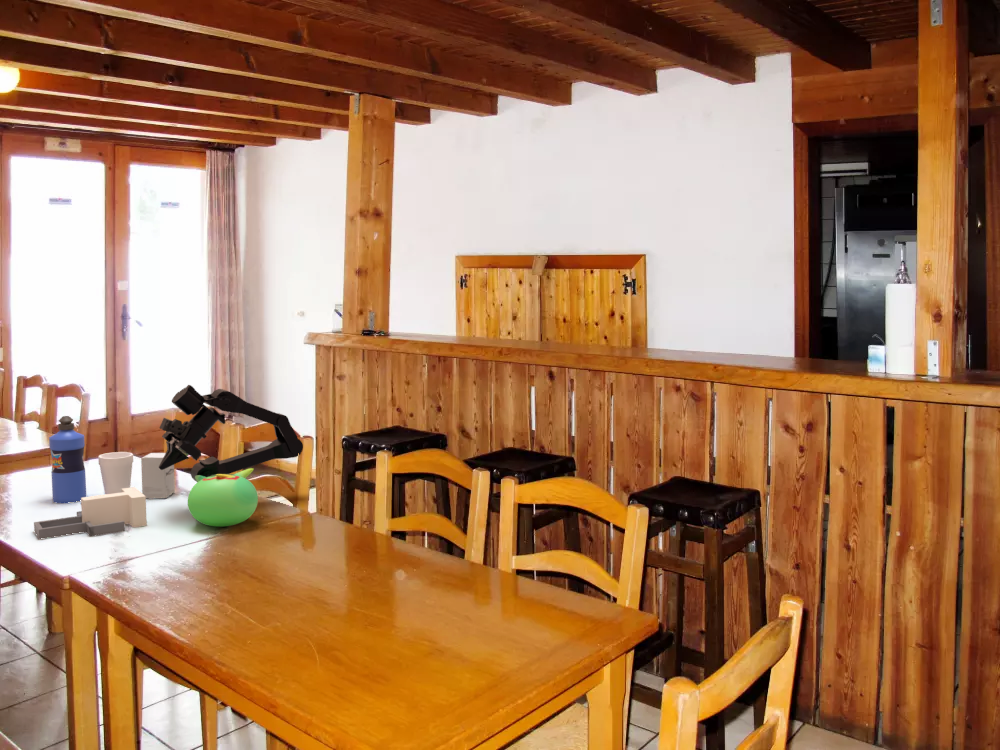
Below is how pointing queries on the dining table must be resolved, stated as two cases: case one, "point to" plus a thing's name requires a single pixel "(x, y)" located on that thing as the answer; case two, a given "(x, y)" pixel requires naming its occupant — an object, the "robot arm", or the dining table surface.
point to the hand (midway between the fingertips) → (160, 468)
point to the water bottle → (67, 463)
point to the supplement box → (156, 477)
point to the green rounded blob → (223, 499)
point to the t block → (115, 508)
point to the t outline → (74, 527)
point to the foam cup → (116, 471)
